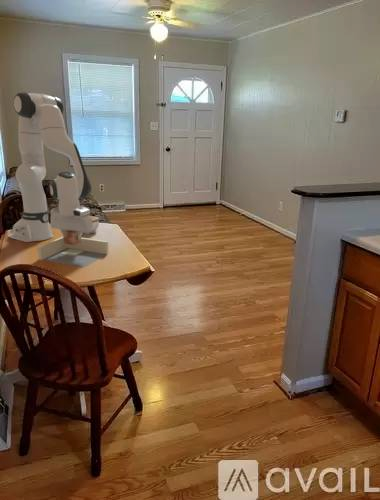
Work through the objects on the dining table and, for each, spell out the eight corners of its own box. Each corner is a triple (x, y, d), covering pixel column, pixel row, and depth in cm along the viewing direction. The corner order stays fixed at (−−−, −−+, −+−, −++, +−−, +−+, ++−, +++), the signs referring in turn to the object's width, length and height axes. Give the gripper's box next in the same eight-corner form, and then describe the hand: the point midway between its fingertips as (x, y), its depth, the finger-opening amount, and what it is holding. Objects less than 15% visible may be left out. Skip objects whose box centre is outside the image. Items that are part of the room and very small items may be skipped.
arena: (39, 262, 167) (37, 246, 164) (67, 249, 184) (65, 235, 182) (84, 270, 160) (83, 254, 157) (108, 255, 177) (108, 241, 175)
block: (64, 243, 173) (62, 231, 171) (71, 240, 178) (70, 228, 176) (74, 245, 171) (73, 232, 169) (81, 241, 176) (80, 229, 174)
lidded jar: (103, 232, 213) (102, 215, 210) (86, 235, 205) (85, 218, 202) (92, 228, 220) (91, 212, 217) (75, 231, 212) (74, 215, 209)
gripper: (45, 209, 170) (49, 238, 174) (85, 213, 164) (87, 243, 168) (54, 206, 176) (57, 234, 180) (93, 210, 169) (95, 239, 174)
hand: (72, 239), depth 174 cm, fingers closed on block, 5 cm apart
